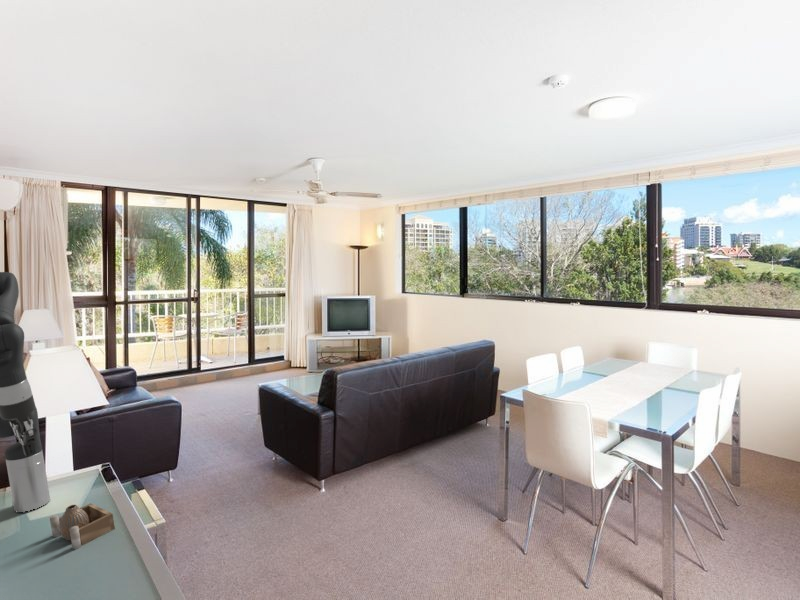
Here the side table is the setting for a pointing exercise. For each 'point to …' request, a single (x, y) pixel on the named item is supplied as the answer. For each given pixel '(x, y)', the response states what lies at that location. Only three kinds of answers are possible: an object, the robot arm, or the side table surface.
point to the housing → (86, 526)
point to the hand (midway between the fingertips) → (30, 454)
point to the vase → (72, 520)
